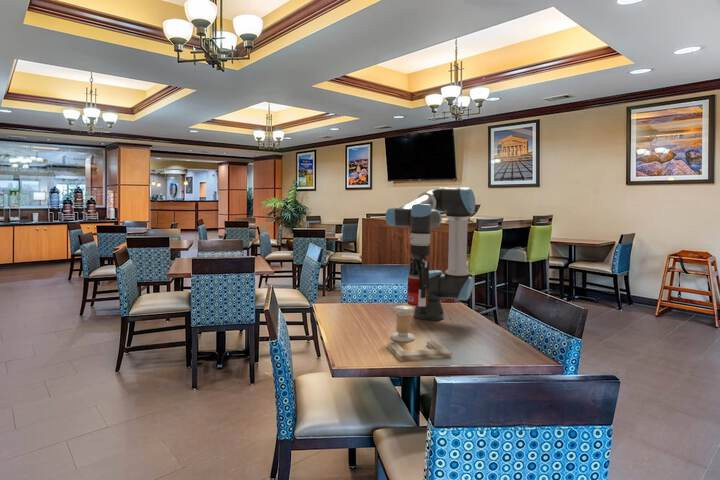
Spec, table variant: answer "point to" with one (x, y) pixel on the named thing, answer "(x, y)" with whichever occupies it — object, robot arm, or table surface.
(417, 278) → the canned food
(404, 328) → the bobbin
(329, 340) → the table surface
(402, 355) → the notched board
